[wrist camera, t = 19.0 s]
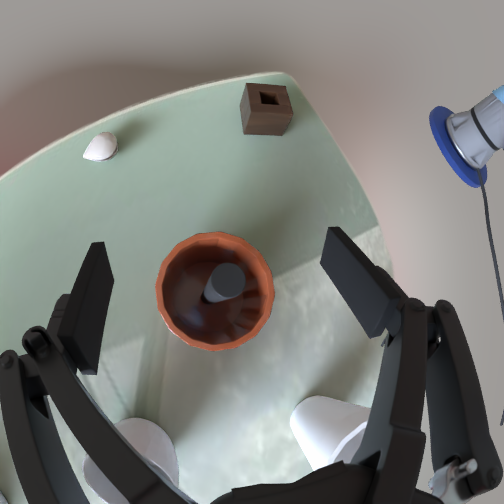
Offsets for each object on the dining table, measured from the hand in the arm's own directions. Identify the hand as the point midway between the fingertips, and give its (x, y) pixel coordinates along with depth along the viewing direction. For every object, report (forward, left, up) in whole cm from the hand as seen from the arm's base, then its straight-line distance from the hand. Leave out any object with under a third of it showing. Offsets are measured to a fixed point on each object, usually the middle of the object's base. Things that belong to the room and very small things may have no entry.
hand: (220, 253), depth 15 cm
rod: (-2, +1, -15) cm, 15 cm away
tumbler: (-2, +1, -16) cm, 16 cm away
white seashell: (+21, +5, -16) cm, 27 cm away
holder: (+16, -17, -16) cm, 28 cm away
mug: (-14, +19, -16) cm, 28 cm away
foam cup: (-22, -2, -16) cm, 27 cm away
